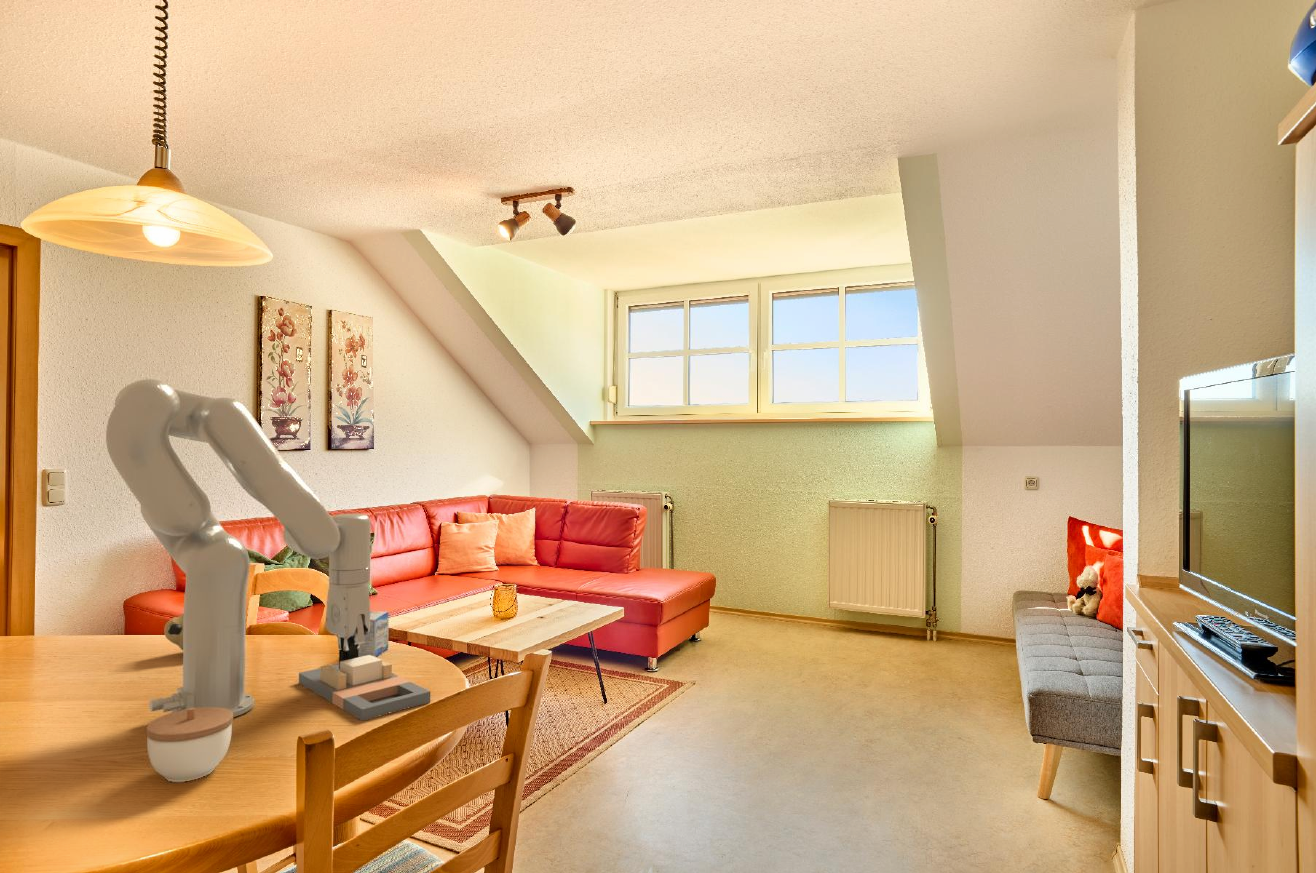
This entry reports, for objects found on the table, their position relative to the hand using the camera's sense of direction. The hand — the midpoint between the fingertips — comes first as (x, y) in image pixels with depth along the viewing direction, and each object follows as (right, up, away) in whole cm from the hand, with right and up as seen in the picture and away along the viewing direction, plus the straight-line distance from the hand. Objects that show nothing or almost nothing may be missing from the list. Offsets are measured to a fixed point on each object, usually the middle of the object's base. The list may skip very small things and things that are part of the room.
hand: (348, 668), depth 148 cm
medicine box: (-3, -3, +21) cm, 21 cm away
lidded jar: (-7, -3, -39) cm, 40 cm away
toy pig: (-41, -3, +18) cm, 45 cm away
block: (+4, -1, -3) cm, 5 cm away
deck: (+5, -3, -5) cm, 7 cm away
